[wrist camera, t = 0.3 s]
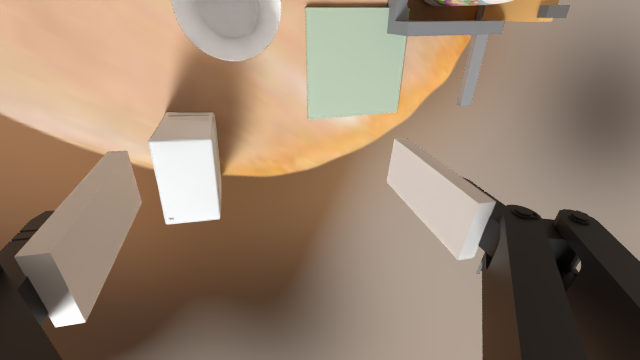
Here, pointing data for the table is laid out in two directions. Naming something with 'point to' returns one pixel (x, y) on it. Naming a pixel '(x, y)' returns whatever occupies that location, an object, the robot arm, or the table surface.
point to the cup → (229, 26)
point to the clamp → (449, 27)
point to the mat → (352, 62)
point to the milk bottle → (464, 2)
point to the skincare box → (187, 166)
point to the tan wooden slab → (526, 11)
